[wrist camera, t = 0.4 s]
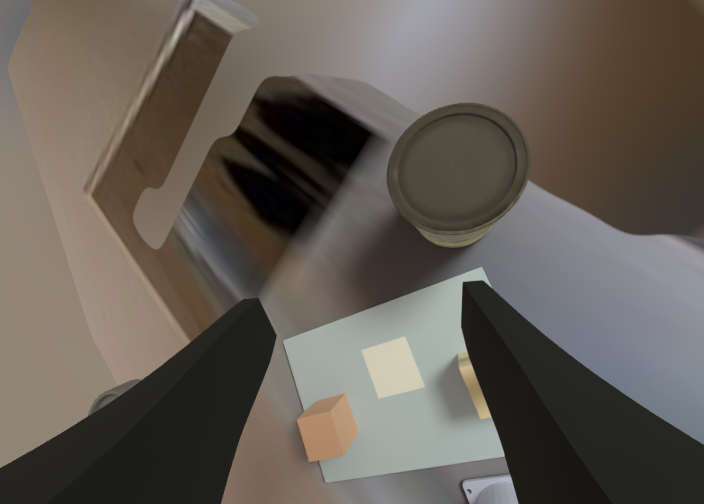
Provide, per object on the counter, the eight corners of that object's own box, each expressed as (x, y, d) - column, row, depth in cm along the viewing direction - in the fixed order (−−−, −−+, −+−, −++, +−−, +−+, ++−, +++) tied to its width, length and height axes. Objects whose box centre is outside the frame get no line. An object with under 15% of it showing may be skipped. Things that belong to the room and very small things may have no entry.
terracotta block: (358, 431, 35) (344, 455, 30) (327, 437, 37) (309, 462, 32) (346, 392, 36) (330, 410, 31) (316, 400, 38) (296, 419, 33)
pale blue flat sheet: (566, 443, 28) (568, 447, 27) (327, 479, 37) (325, 483, 36) (481, 267, 32) (481, 266, 31) (285, 339, 41) (282, 340, 40)
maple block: (522, 386, 29) (535, 408, 24) (476, 396, 30) (480, 419, 26) (501, 341, 30) (510, 354, 25) (458, 353, 31) (458, 367, 27)
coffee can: (396, 208, 36) (362, 173, 23) (456, 151, 34) (458, 75, 20) (449, 265, 33) (446, 262, 20) (519, 208, 31) (569, 161, 17)
